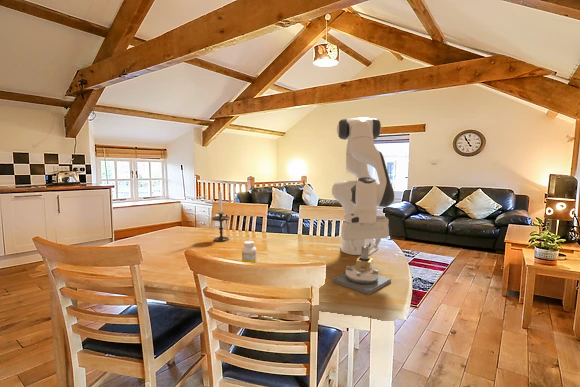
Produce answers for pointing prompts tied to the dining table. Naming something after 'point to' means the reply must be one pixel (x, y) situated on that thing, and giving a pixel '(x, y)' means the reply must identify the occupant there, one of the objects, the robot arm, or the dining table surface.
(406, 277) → the dining table surface
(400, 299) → the dining table surface
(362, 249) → the steel pin
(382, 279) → the base
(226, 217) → the candlestick
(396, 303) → the dining table surface
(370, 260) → the grey round chuck
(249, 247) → the supplement bottle
